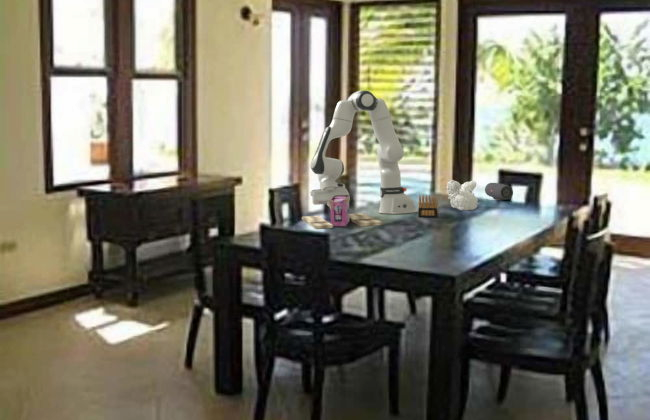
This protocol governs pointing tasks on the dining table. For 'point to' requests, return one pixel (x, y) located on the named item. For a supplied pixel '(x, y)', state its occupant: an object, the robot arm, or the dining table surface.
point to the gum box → (340, 210)
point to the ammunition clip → (428, 207)
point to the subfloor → (357, 218)
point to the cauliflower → (462, 195)
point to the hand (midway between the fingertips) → (333, 208)
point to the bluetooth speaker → (498, 191)
